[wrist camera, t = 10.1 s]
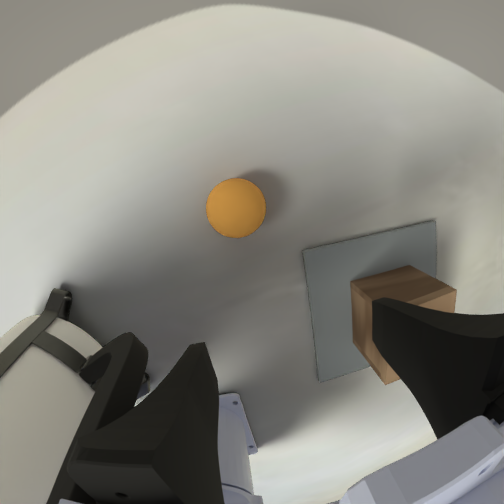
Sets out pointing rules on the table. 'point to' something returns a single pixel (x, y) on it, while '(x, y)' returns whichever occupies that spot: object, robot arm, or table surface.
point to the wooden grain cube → (399, 288)
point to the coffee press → (59, 399)
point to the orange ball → (236, 208)
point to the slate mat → (339, 291)
